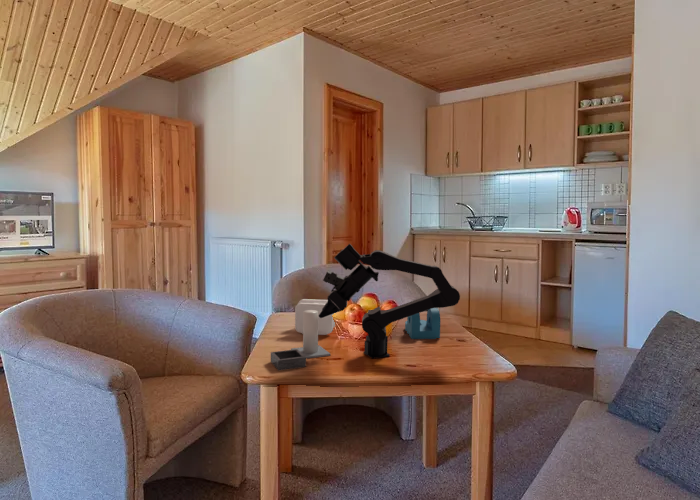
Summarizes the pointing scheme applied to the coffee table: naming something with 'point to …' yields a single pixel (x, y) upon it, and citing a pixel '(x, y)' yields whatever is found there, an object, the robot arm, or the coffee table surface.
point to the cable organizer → (323, 323)
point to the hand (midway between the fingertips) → (321, 313)
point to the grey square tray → (288, 359)
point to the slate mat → (320, 353)
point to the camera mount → (424, 325)
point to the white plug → (310, 331)
